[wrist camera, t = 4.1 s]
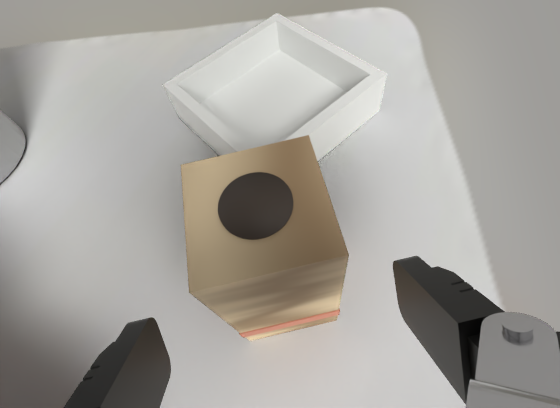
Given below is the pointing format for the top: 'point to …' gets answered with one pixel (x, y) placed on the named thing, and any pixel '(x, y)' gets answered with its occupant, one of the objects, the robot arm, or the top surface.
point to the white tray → (277, 90)
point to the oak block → (263, 239)
